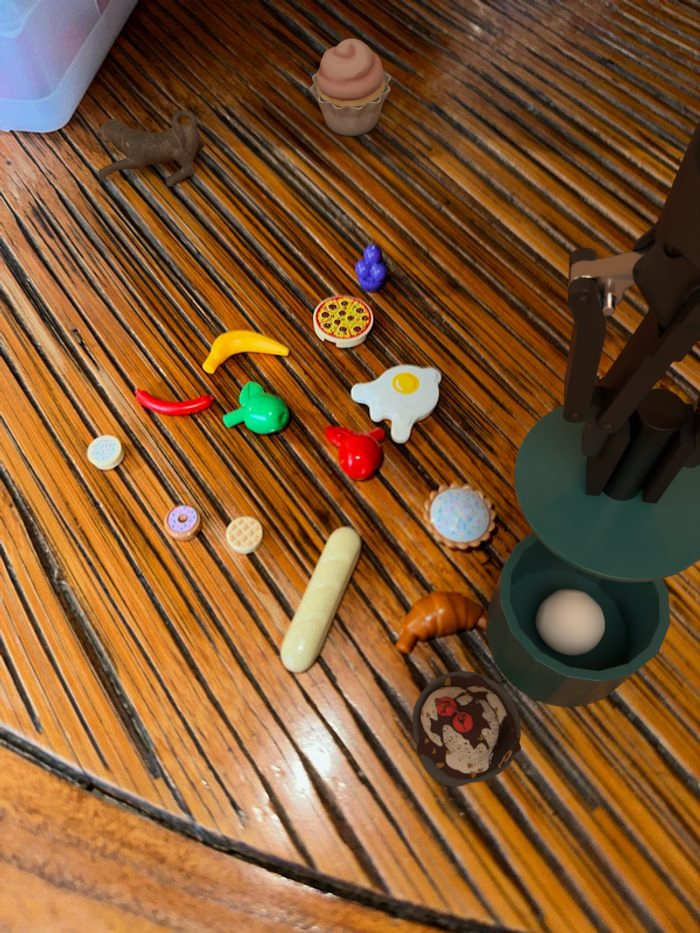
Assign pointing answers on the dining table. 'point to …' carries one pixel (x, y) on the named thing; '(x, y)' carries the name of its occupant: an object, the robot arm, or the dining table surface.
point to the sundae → (465, 728)
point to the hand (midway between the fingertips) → (621, 478)
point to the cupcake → (350, 88)
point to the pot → (561, 676)
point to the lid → (611, 497)
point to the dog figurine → (154, 146)
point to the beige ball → (570, 622)
